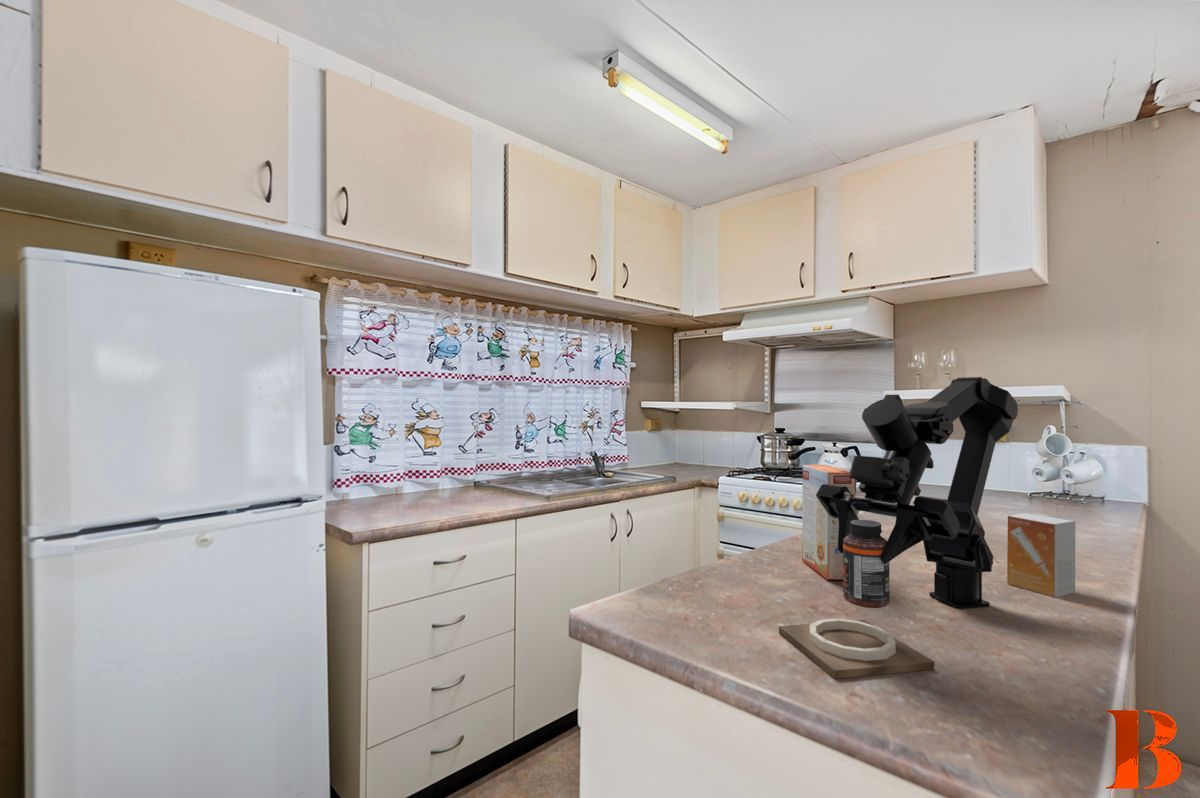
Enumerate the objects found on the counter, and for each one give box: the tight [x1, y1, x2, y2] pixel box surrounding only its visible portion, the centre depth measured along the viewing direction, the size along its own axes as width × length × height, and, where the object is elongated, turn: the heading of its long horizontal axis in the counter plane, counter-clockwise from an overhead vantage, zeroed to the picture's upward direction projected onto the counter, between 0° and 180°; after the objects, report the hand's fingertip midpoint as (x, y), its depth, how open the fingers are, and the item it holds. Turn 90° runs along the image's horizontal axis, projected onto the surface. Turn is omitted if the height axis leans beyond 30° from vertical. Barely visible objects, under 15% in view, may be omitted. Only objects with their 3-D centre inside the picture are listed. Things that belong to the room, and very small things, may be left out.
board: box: [778, 619, 935, 680], centre depth 77 cm, size 14×14×1 cm
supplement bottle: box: [842, 519, 891, 609], centre depth 80 cm, size 6×6×11 cm
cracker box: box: [801, 464, 857, 581], centre depth 114 cm, size 14×6×21 cm, turn 179°
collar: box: [809, 618, 896, 661], centre depth 77 cm, size 11×11×1 cm
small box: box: [1006, 512, 1076, 598], centre depth 103 cm, size 8×6×13 cm
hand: (860, 556), depth 79 cm, fingers closed on supplement bottle, 6 cm apart
